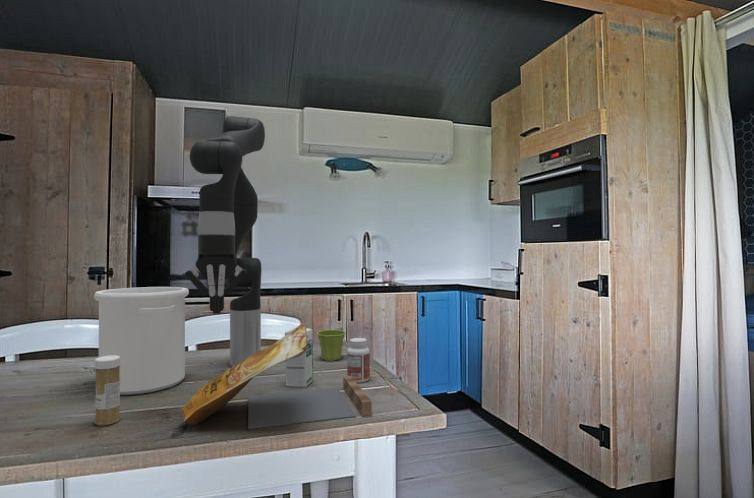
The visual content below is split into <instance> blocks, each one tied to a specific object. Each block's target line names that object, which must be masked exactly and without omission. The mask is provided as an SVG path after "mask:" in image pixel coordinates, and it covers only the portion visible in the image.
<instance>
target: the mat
mask: <svg viewBox="0 0 754 498" xmlns="http://www.w3.org/2000/svg"><path fill="white" fill-rule="evenodd" d="M247 399H248V402H247V403H248V405H247V406H248V408H247V414H248V415H247V422H248V423H247V430H251V429H262V428H270V427H278V426H279V427H280V426H288V425H298V424H304V423H305V424H307V423H315V422H325V421H326V422H327V421H333V420H334V421H335V420H341V419H352V418H356V416H357V415H356V414H355V413H354V411H353V410H352V408H351V406H350V404H349V403H348V401H347V400H346V398H345V397H344V395H343V394H342V392H341V390H340V389H339V388H338V386H337V387H328V388H319V389H317V388H315V389H305V390H296V391H294V390H293V391H283V392H275V393H274V392H273V393H263V394H262V393H261V394H251V395H250V394H249V395H248V397H247Z"/></svg>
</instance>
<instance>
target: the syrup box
mask: <svg viewBox="0 0 754 498" xmlns="http://www.w3.org/2000/svg"><path fill="white" fill-rule="evenodd" d="M295 328H296V327H293V328H292V329H289V330H287V331H285V332H284V336H286V335H287V334H288V333H290V332H291V331H293V330H294V329H295ZM306 331H307V347H306V351H305V353H303V354H302V355H300V356H299V357H296V358H293V359H290V360H287V361H284V362H285V367H284V368H285V386H286V387H291V388H293V387H294V388H307V386H308V385H310V384H311V383H312V382H314V352H313V351H314V350H313V349H314V348H313V347H314V346H313V340H314V339H313V328H310V327H306Z"/></svg>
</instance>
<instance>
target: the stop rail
mask: <svg viewBox="0 0 754 498" xmlns="http://www.w3.org/2000/svg"><path fill="white" fill-rule="evenodd" d="M342 379H343V381H342V382H343V386H342V388H343V390H344V391H345V393H346V394H347V396H348V397H349V399H350V400H351V401H352V403H353V405H354V406H355V408H356V409H357V410H358V412H359V413H360V415H361V416H362V417H369V416H372V413H373V411H372V407H373V405H372V403H373V402H372V401H371V399H370V398H369V396H368V395H367V394H366V393H365V392H364V390H363V389H362V388H361V386H360V385H359V384H358V383H356V382H355V380H354V379H353V378H352V377H351V376H347V375H346V376H342Z"/></svg>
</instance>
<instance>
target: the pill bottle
mask: <svg viewBox="0 0 754 498" xmlns="http://www.w3.org/2000/svg"><path fill="white" fill-rule="evenodd" d="M367 344H368V339H367V338H365V337H355V338H354V337H353V338H350V339H349V345H350V347H348V348H347V352H346V359H347V360H346V362H347V363H346V364H347V365H346V367H347V369H346V370H347V372H346V373H347V374H346V376H351V377H352V378H353V379H354V380H355V382H356V383H357V384H358V383H359V384H360V383H361V384H362V383H365V382H368V381H369V380H370V379H371V373H370V372H371V369H370V368H371V367H370V366H371V363H370V362H371V361H370V359H371V358H370V355H371V354H370V349H369V347H368V346H367Z"/></svg>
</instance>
